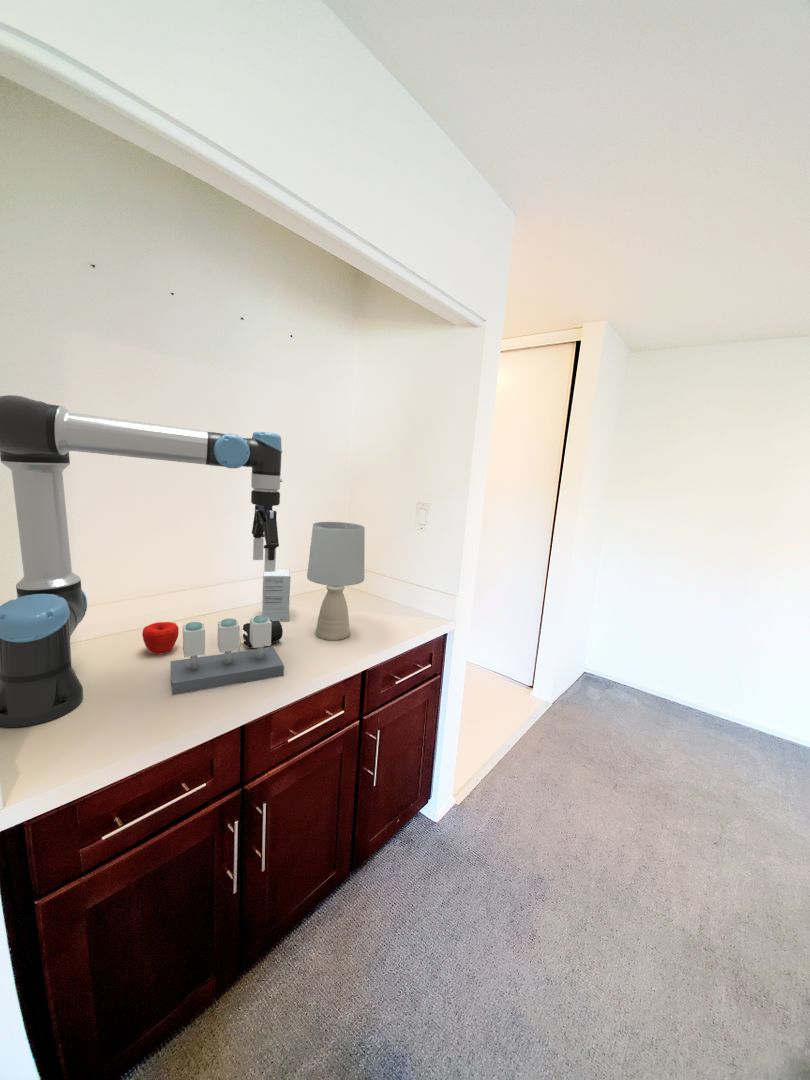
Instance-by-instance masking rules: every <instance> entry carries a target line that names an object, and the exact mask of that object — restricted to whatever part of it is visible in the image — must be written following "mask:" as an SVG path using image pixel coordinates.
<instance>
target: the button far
mask: <svg viewBox="0 0 810 1080" xmlns="http://www.w3.org/2000/svg"><path fill="white" fill-rule="evenodd" d="M249 623H250V643H251V645H252V649H253V648H255V649H256V648H257V647H263V648H264V647H268V646H270V647H271V645H272V642H271V627H272V622H271V621H270V619H269V618H268V617H267V616H264V615H262V614H260V615H259V614H258V615H256V616H254V617H253V618H252V617H251V618H249Z"/></svg>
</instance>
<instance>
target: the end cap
mask: <svg viewBox="0 0 810 1080" xmlns="http://www.w3.org/2000/svg"><path fill="white" fill-rule="evenodd" d="M270 621H271V622H272V627H271V643H274V642H278V641H279V640H281V639H282V637H283V633H284V632H283V627H282V626H283V625H282V623H281V621H272V620H270ZM242 627H243V628H242V630H243V631H244V632H245V633H246V634H245V633H243V634H242V639H243V645H245V646H246V647H247V648H249V649H251V648H252V649H253V647H252V645H251V643H250V622H247V623H245V624H243V625H242Z"/></svg>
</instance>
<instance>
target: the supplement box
mask: <svg viewBox="0 0 810 1080" xmlns="http://www.w3.org/2000/svg"><path fill="white" fill-rule="evenodd" d="M290 570H291V569H290V568H289V569H287V568H285V569H283V568H281V569H280V568H275V571H273V572H265V571H264V570H263V575H262V600H261V601H262V605H261V606H262V608H261V609H262V611H261V612H262V614H261V615H264V616H267V617H268V618H269V619H270V620H272V621H279V622H289V620H290V592H291V573H290Z"/></svg>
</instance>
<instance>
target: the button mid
mask: <svg viewBox="0 0 810 1080" xmlns="http://www.w3.org/2000/svg"><path fill="white" fill-rule="evenodd" d="M240 627H241V626H240V624H239V622H238V620H237V619H236V618H223V619H221V621H217V647H218V651H219V653H225V652H226V651H238V650H240V632H241V631H240Z"/></svg>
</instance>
